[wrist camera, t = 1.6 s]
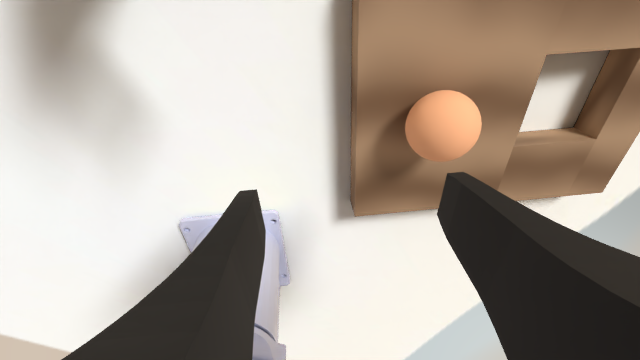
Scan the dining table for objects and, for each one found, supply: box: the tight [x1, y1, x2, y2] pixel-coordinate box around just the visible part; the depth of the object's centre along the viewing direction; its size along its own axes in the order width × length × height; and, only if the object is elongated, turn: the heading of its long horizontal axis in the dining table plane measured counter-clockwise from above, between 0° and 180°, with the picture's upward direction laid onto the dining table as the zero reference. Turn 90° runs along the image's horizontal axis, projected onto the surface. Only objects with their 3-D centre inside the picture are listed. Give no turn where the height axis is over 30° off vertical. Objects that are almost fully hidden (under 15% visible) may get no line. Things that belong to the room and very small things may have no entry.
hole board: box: [351, 0, 640, 216], centre depth 19 cm, size 16×20×2 cm
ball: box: [405, 90, 482, 162], centre depth 17 cm, size 4×4×4 cm
